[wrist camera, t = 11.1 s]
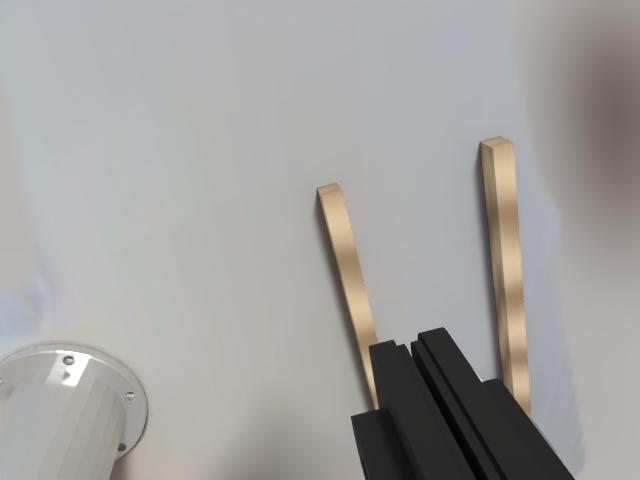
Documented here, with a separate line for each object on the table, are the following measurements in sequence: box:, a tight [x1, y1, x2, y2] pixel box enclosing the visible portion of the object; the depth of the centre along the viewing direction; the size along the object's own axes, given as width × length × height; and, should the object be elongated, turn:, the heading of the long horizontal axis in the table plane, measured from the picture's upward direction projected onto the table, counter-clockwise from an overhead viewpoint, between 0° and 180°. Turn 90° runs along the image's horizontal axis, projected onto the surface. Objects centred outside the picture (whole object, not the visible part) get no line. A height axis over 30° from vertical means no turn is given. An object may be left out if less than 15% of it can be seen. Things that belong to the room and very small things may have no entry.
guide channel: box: [317, 136, 531, 418], centre depth 41 cm, size 27×14×2 cm, turn 14°
